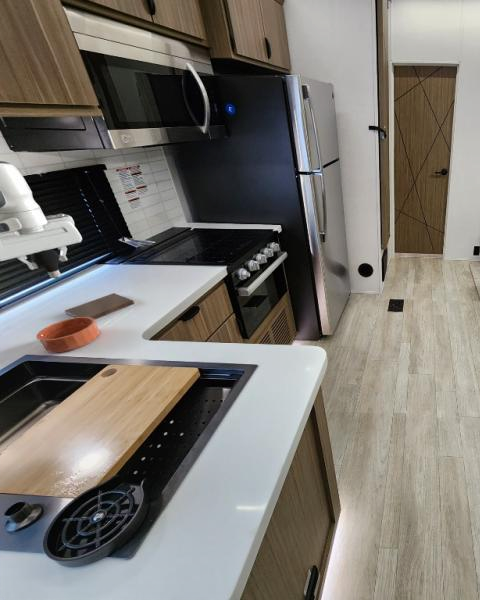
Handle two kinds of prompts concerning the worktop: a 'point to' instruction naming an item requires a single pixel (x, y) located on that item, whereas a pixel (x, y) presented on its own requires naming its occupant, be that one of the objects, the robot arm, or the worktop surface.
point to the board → (100, 306)
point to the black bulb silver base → (47, 262)
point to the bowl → (68, 334)
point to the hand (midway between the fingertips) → (49, 264)
